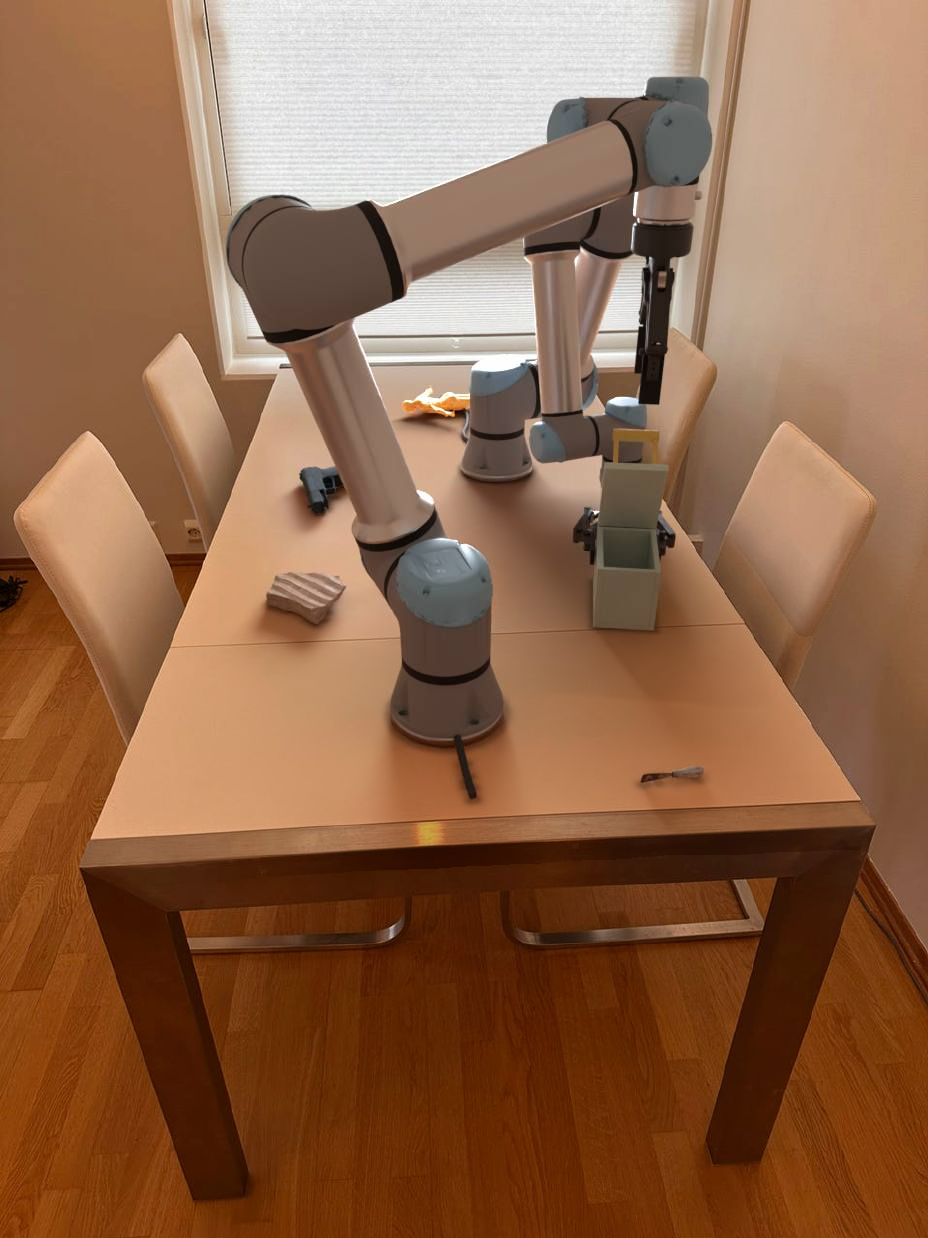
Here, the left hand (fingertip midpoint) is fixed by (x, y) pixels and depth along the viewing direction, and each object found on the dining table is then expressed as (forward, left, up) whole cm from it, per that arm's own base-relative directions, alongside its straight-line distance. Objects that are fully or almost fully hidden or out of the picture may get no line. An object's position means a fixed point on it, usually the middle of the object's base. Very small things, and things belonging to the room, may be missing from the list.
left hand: (646, 387), depth 123 cm
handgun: (+35, +61, -37) cm, 79 cm away
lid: (+6, 0, -19) cm, 20 cm away
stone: (-7, +51, -37) cm, 63 cm away
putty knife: (-38, -8, -37) cm, 53 cm away
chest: (+3, 0, -37) cm, 37 cm away
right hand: (+6, 0, -30) cm, 31 cm away
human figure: (+90, +49, -37) cm, 109 cm away
